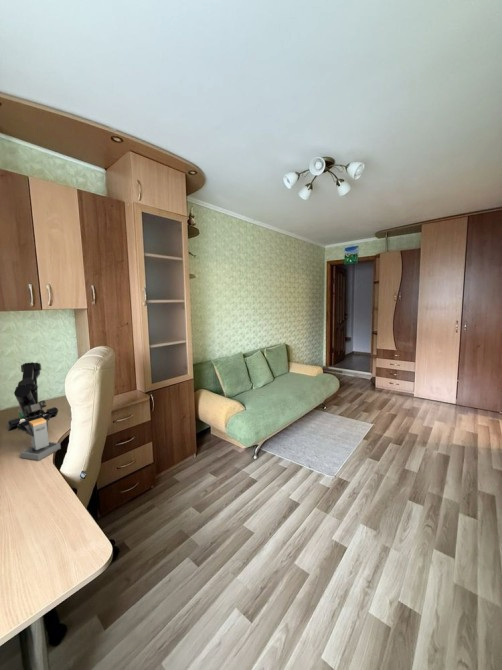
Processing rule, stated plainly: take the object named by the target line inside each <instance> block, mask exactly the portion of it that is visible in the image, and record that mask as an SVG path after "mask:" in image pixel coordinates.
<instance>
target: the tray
mask: <svg viewBox="0 0 502 670" xmlns="http://www.w3.org/2000/svg"><path fill="white" fill-rule="evenodd" d="M61 447H62V446H61V443H60V442H54V441H53V442H52V441H49V445H48V446H46V447H43V448H41V449H38V450H35V449H34V448H33V447H32V446H30V447H28V448H26V449H24V450H22V451H20V453H19V456H20V459H21V460H22V459H23V460H29V461H36V462H40V461H42V460H43V459H46V458H47V457H48V456H50V455H52V454H54V453H56V452H57V451H59V450H61V449H62V448H61Z"/></svg>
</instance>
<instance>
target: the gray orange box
mask: <svg viewBox="0 0 502 670" xmlns="http://www.w3.org/2000/svg"><path fill="white" fill-rule="evenodd" d="M29 426H30V428H31V430H32V432H33V435H34V436H33V437H32V436H31V435H30V441H31V447H33V448H34V449H35V450H38V449H41V448H43V447H46V446H48V445H49V442H50V441H49V434H48V431H47V424H46V420H45V419H43V418H39V419H36V420H33V421H29Z"/></svg>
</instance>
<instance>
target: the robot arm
mask: <svg viewBox="0 0 502 670" xmlns="http://www.w3.org/2000/svg"><path fill="white" fill-rule="evenodd" d="M41 371H42V365H41V363H39V362H33V361H31V362H25V363H22V364H21V365H20V372H21V373H22V377H21V380H19V381H18V382H17V386H16V387H15V390H14V393H13V394H14V397H15V398H16V400H17V402H18V405H19V408H20V409H21V410H22V414H23V417H24V418H23V419H20V417H16V418H12V419H9V420H8V421H7V424H6V428H7V429H6V430H7V431H8V432H12V431H15V430H18V431H19V430H20V431H23V432H24V433H26V434H28V435H29V436H30V437H31V436H32V437H33V436H34V435H33V432H32V430H31V428H30V426H29V421H33V420H36V419H39V418H43V419H45V420H46V424H47V432H48V431H49V430H48V429H49V428H48V427H49V426H48V425H49V421H50V419H53V418H56V417H57V415H58V412H59V409H58V408H57V407H55V406H54V407H51V408H47V409H46V411H45V410H44V408H46V407H47V403H46V400H45V399H44V400H41V401H39V395H38V394H39V392H38V390H39V386H38V378H39V376H40V375H41ZM38 402H39V403H38Z"/></svg>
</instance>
